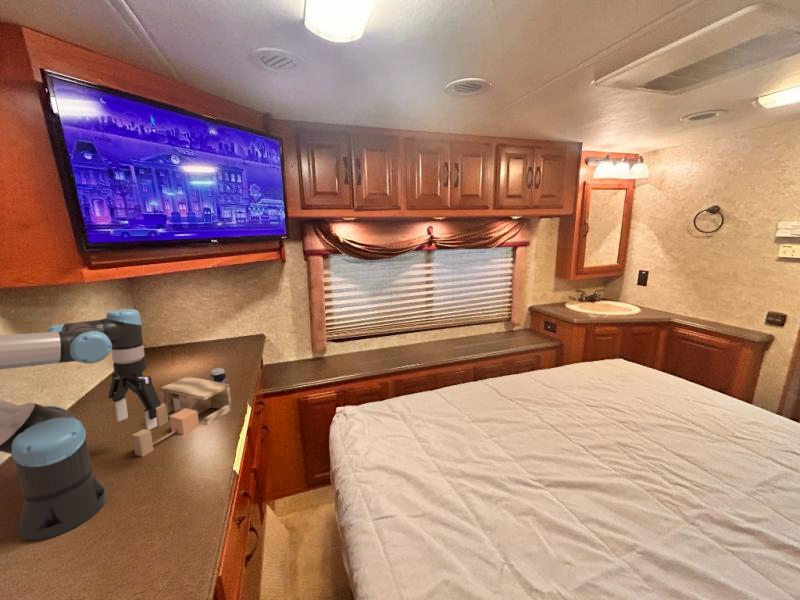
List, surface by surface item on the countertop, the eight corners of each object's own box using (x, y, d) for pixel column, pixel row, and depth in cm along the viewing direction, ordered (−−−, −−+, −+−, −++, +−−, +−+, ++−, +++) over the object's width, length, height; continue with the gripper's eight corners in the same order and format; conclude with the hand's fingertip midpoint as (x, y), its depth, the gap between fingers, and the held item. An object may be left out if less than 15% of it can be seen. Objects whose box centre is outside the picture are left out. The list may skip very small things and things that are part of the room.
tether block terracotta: (145, 457, 100) (142, 437, 99) (132, 453, 102) (129, 434, 101) (199, 425, 118) (197, 408, 116) (187, 422, 120) (185, 405, 118)
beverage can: (220, 399, 137) (218, 373, 135) (209, 397, 138) (206, 372, 136) (230, 393, 143) (227, 368, 141) (219, 391, 144) (216, 367, 142)
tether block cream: (161, 427, 117) (159, 409, 115) (150, 424, 118) (147, 407, 117) (199, 407, 131) (197, 391, 129) (188, 404, 133) (186, 389, 131)
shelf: (207, 424, 118) (204, 397, 116) (164, 413, 125) (160, 387, 123) (231, 409, 129) (229, 384, 127) (190, 400, 136) (187, 376, 134)
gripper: (170, 361, 96) (177, 425, 100) (116, 350, 104) (124, 410, 108) (144, 369, 89) (152, 438, 93) (88, 358, 97) (97, 421, 101)
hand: (137, 423), depth 100 cm, fingers open, 13 cm apart
